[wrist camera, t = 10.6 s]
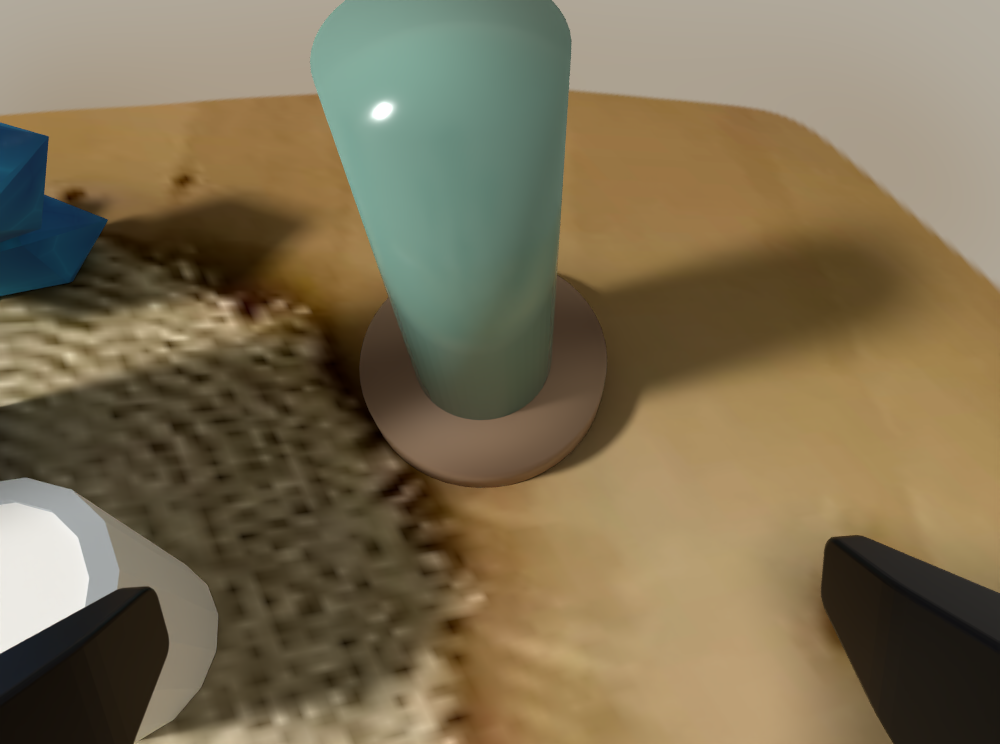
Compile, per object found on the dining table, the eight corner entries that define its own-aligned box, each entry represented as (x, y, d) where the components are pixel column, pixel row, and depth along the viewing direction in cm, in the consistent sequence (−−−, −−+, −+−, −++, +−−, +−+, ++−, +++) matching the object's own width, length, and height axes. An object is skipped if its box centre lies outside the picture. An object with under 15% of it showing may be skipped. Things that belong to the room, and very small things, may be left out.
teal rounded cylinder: (580, 355, 23) (626, 38, 12) (480, 448, 22) (430, 185, 11) (484, 276, 25) (448, -63, 14) (386, 358, 24) (258, 51, 13)
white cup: (222, 511, 23) (107, 439, 17) (253, 720, 20) (127, 727, 14) (22, 579, 22) (-178, 530, 16) (22, 807, 19) (-225, 858, 13)
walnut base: (643, 435, 23) (650, 419, 22) (407, 525, 22) (399, 513, 21) (548, 251, 27) (549, 227, 26) (343, 319, 26) (333, 298, 25)
